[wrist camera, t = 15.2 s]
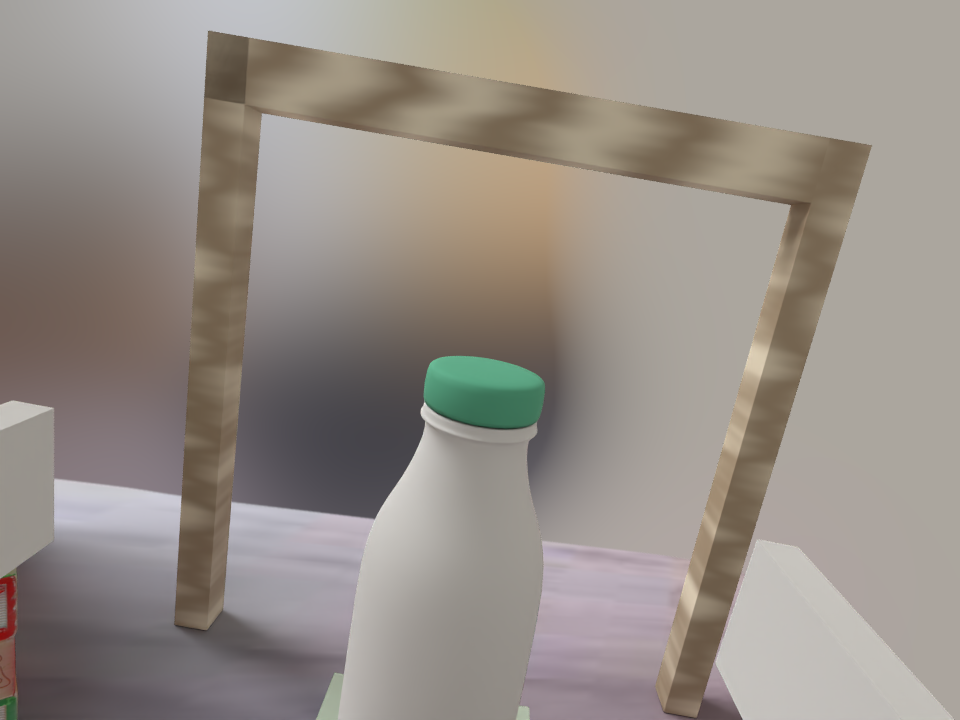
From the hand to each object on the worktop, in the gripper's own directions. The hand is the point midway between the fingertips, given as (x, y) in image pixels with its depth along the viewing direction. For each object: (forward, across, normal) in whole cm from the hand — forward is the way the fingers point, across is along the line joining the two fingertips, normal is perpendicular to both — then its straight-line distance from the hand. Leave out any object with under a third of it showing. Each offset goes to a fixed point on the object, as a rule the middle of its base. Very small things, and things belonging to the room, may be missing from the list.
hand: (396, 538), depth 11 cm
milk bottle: (+11, +2, -20) cm, 23 cm away
